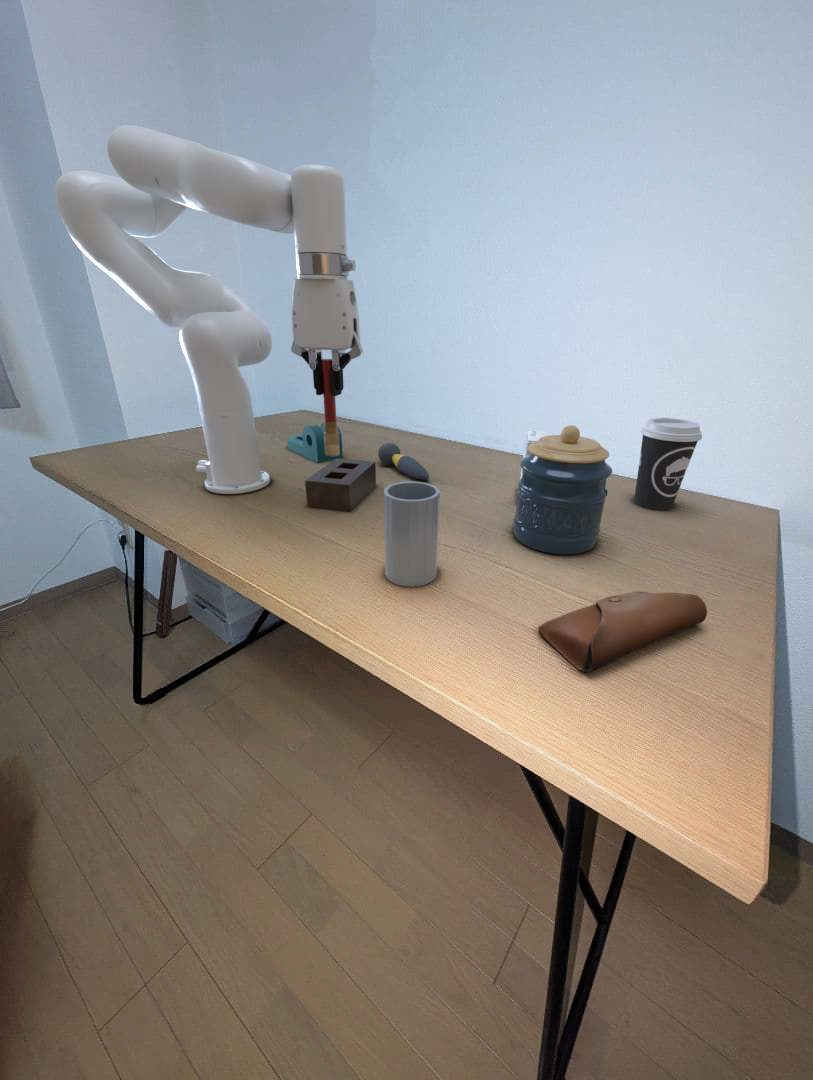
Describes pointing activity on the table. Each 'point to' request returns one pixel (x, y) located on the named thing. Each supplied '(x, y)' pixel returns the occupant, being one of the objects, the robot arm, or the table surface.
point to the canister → (562, 493)
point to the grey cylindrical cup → (411, 532)
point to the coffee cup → (664, 460)
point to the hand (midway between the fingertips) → (329, 393)
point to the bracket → (313, 443)
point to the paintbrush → (401, 461)
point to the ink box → (533, 437)
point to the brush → (329, 412)
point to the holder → (341, 484)
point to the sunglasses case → (620, 626)
